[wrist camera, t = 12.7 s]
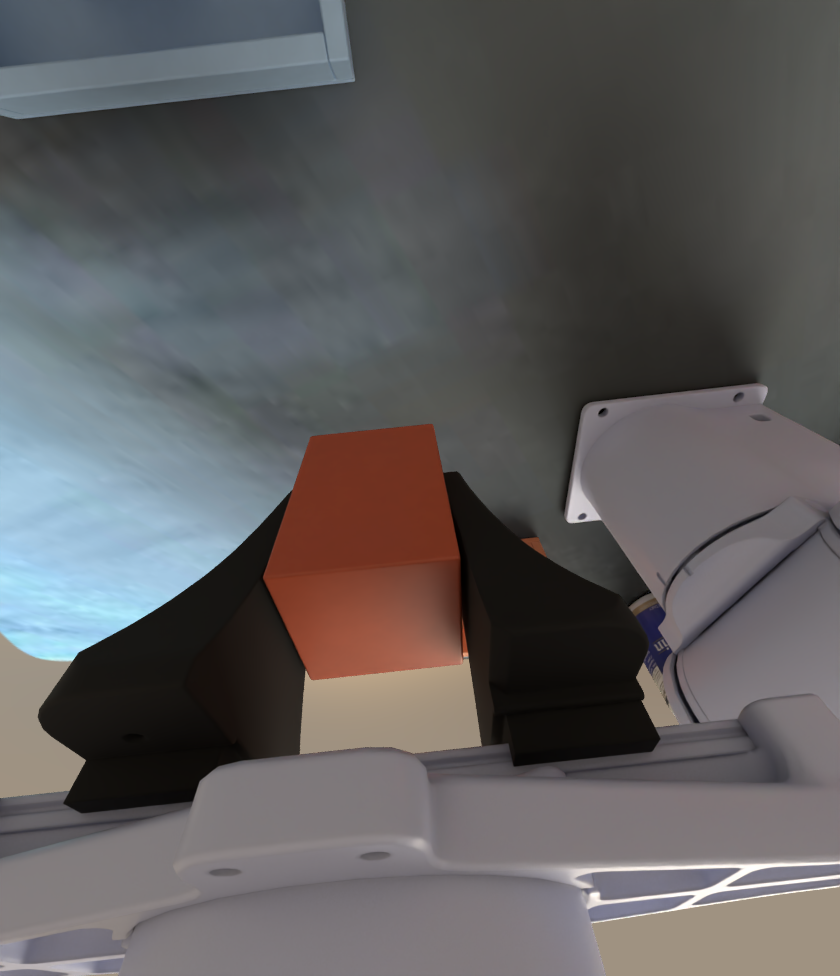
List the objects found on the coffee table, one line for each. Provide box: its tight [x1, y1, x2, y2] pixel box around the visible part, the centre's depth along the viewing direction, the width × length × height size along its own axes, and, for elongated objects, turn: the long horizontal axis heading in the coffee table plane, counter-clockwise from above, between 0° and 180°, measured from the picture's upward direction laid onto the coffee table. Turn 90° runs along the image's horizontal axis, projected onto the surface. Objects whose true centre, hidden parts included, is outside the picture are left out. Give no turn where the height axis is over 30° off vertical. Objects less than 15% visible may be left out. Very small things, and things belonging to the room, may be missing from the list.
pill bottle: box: [629, 593, 674, 714], centre depth 27 cm, size 6×6×10 cm
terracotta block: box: [263, 424, 463, 680], centre depth 11 cm, size 4×4×6 cm
